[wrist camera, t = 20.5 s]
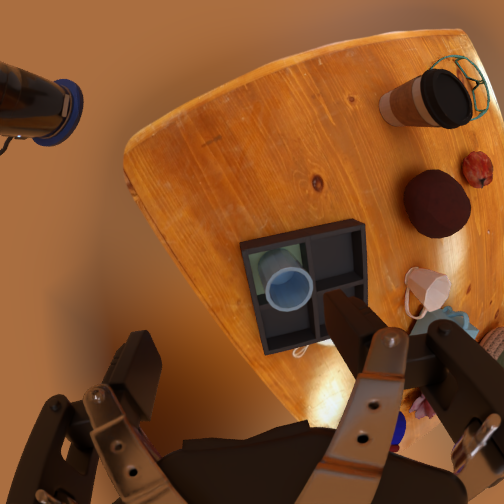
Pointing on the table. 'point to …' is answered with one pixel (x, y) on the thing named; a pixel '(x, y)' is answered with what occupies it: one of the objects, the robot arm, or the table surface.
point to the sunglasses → (472, 80)
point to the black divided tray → (321, 272)
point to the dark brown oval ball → (436, 204)
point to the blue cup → (284, 280)
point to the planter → (495, 344)
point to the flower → (422, 408)
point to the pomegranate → (478, 169)
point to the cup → (426, 289)
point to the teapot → (444, 313)
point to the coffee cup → (428, 102)
